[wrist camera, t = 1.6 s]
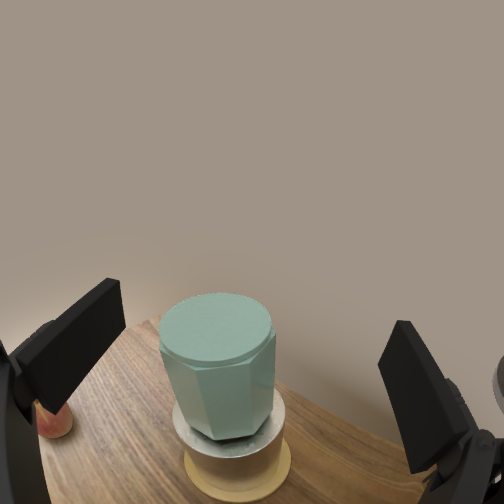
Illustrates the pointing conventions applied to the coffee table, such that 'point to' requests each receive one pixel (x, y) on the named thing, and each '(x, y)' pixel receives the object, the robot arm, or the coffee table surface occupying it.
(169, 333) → the jar
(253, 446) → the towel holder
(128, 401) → the coffee table surface
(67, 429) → the apple
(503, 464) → the robot arm
